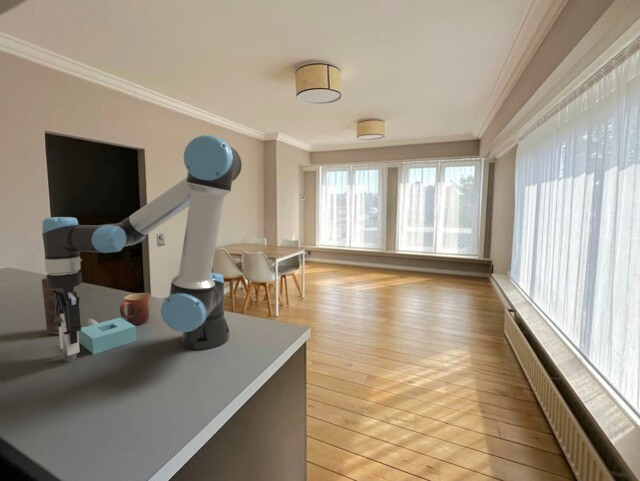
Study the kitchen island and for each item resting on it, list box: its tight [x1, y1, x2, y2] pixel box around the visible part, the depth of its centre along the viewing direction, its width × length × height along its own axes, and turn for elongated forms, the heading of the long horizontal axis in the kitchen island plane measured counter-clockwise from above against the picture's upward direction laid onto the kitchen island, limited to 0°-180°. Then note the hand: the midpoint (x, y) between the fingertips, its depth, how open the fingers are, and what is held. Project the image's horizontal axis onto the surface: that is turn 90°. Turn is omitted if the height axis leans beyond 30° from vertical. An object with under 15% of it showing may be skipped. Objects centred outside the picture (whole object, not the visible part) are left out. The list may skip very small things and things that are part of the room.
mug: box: [119, 292, 151, 326], centre depth 113 cm, size 12×9×10 cm
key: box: [54, 312, 78, 363], centre depth 87 cm, size 6×3×14 cm, turn 145°
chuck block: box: [78, 317, 137, 355], centre depth 101 cm, size 22×12×5 cm, turn 55°
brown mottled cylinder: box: [41, 277, 60, 335], centre depth 104 cm, size 8×7×20 cm
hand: (69, 350), depth 87 cm, fingers open, 5 cm apart
